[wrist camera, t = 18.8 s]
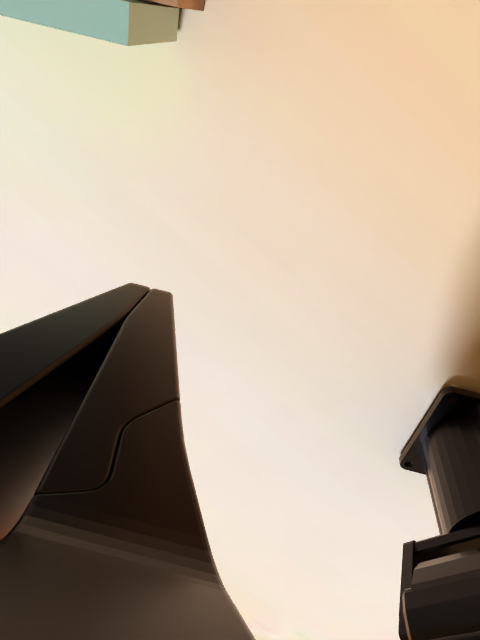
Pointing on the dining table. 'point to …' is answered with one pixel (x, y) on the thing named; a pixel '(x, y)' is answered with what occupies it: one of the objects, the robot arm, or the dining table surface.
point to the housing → (183, 3)
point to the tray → (101, 18)
